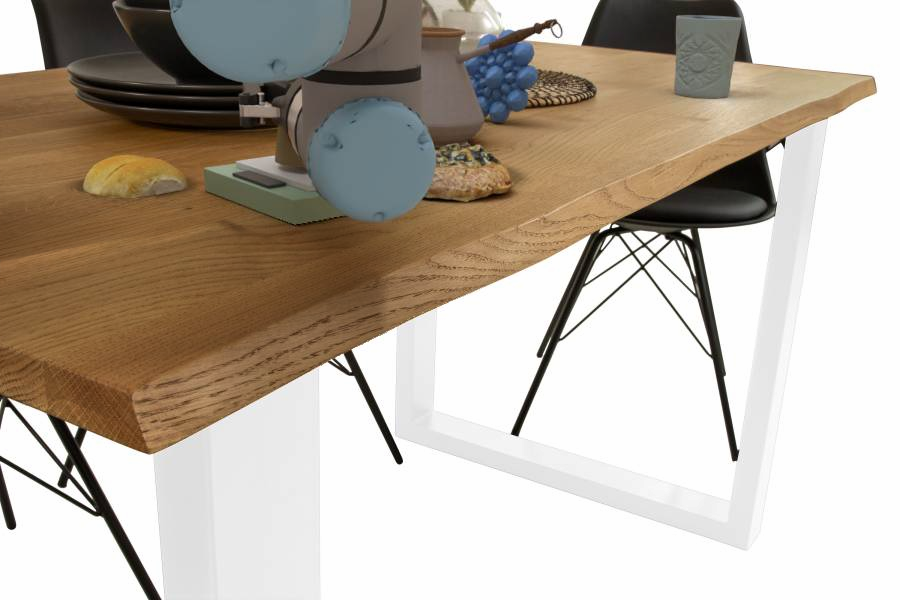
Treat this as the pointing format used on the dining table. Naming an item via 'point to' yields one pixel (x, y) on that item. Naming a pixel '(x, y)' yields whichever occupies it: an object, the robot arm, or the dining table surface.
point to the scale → (270, 189)
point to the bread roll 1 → (133, 177)
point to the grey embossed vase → (705, 55)
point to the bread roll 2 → (467, 173)
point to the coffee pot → (456, 82)
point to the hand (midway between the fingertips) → (298, 80)
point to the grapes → (502, 77)
